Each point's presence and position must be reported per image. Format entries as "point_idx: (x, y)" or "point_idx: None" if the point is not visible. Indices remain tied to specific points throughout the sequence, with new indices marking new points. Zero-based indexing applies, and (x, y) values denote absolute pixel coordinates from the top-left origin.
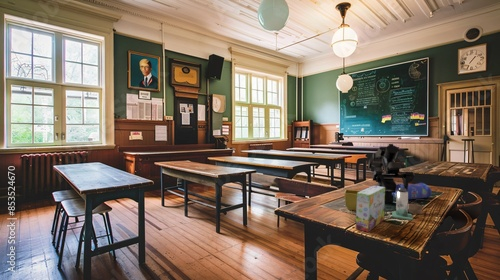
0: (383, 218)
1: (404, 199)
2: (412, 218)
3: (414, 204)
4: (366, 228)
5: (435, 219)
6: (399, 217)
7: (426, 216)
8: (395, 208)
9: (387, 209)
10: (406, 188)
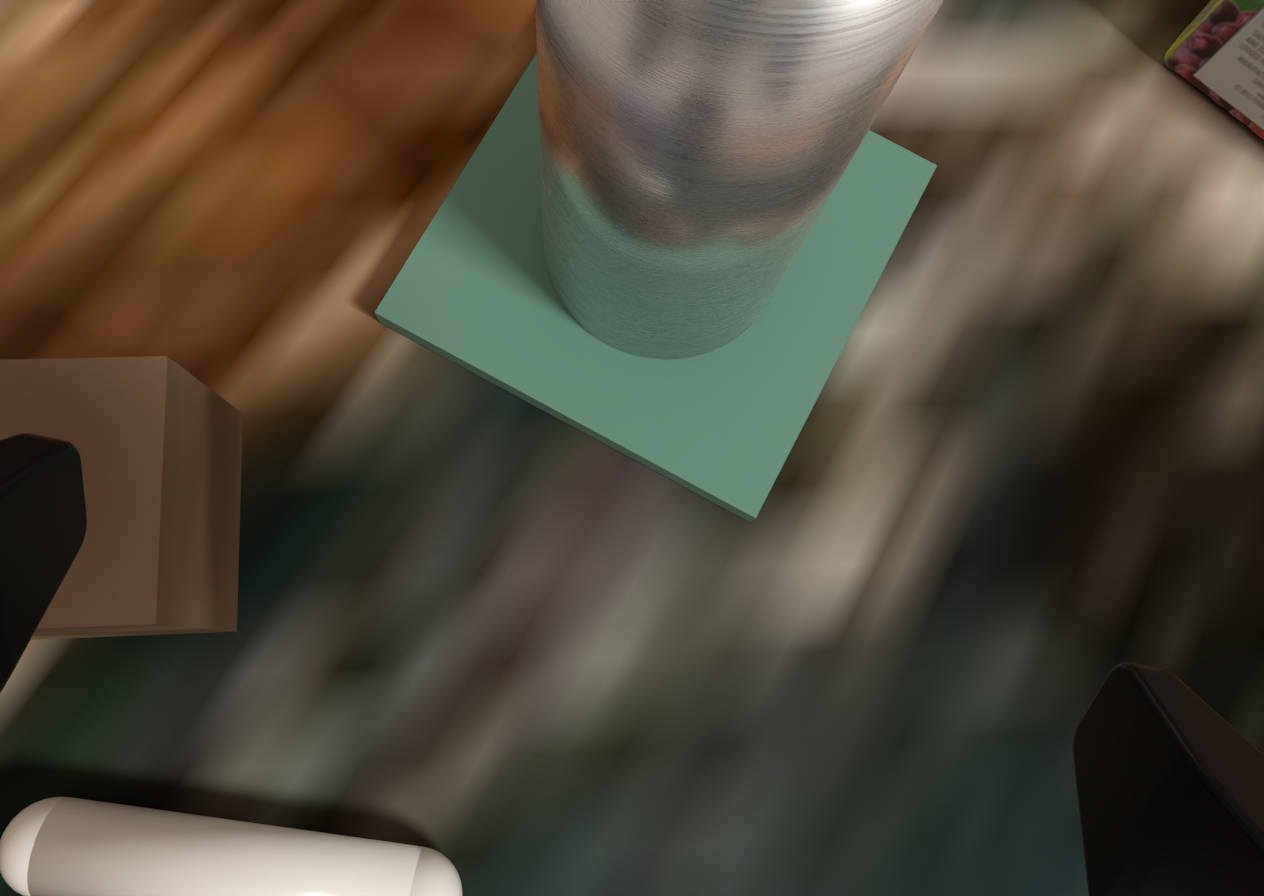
0: (1208, 5)
1: None
2: None
3: None
4: None
5: (15, 52)
6: None
7: (57, 249)
8: (458, 882)
9: (720, 820)
10: (18, 479)
